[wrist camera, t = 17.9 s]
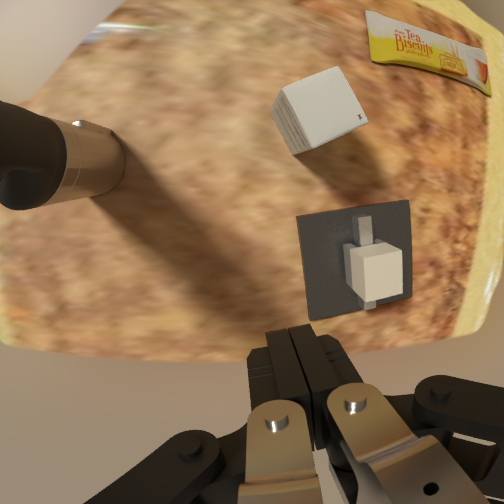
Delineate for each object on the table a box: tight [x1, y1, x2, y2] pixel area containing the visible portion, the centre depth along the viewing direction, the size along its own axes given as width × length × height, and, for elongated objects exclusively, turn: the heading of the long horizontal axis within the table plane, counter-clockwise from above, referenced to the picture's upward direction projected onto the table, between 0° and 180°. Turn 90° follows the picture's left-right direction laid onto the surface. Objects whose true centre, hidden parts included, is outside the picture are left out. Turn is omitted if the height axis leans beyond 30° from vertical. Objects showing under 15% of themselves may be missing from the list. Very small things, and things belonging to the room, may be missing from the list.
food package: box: [365, 11, 491, 95], centre depth 39 cm, size 27×2×10 cm
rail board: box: [296, 200, 412, 321], centre depth 45 cm, size 16×18×4 cm
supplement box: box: [269, 66, 369, 155], centre depth 36 cm, size 7×7×13 cm
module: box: [343, 238, 403, 302], centre depth 42 cm, size 6×6×8 cm
